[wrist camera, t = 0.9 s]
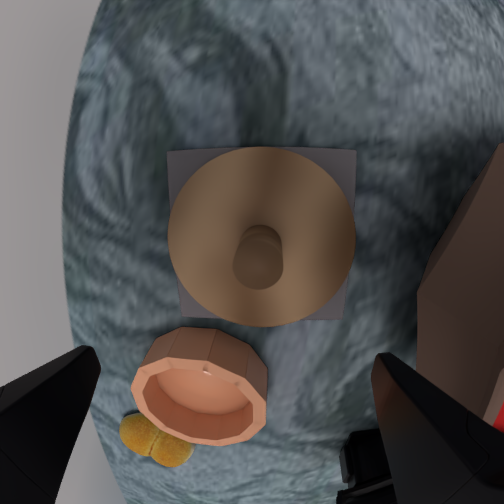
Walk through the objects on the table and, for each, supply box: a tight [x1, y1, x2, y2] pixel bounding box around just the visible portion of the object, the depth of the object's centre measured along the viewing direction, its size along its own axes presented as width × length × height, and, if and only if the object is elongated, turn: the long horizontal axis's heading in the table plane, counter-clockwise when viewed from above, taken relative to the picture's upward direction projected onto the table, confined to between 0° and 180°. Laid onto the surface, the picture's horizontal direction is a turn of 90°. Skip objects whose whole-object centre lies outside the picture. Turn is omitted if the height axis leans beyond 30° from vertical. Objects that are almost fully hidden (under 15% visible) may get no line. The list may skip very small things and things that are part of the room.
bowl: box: [131, 327, 268, 446], centre depth 23 cm, size 11×11×4 cm
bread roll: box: [119, 412, 196, 467], centre depth 27 cm, size 8×9×4 cm
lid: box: [168, 147, 356, 327], centre depth 17 cm, size 12×12×4 cm
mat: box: [167, 147, 356, 320], centre depth 20 cm, size 12×12×1 cm
